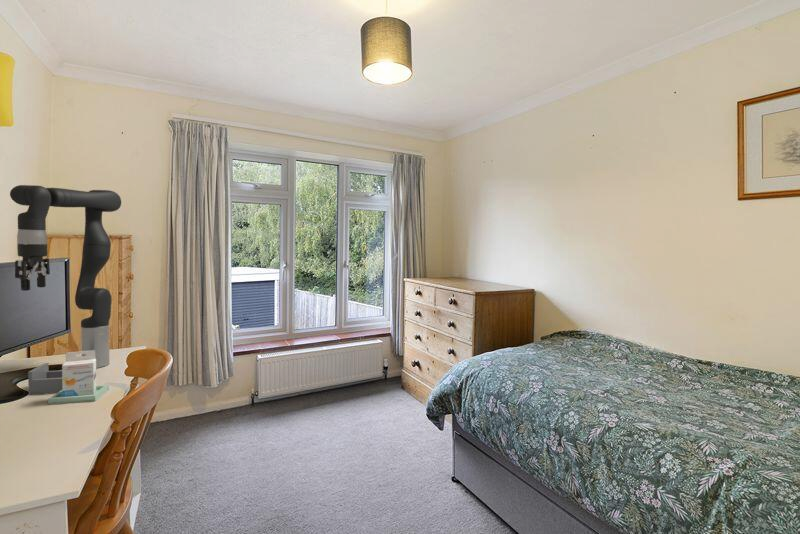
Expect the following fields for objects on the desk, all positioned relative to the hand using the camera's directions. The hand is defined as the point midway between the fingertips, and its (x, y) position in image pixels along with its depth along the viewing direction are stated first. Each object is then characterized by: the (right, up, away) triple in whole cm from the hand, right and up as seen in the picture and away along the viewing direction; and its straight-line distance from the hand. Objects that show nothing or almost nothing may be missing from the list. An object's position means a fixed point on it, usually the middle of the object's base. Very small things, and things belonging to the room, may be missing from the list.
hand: (33, 288), depth 133 cm
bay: (+6, -36, +3) cm, 37 cm away
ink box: (+19, -37, -3) cm, 41 cm away
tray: (+19, -37, -3) cm, 42 cm away
